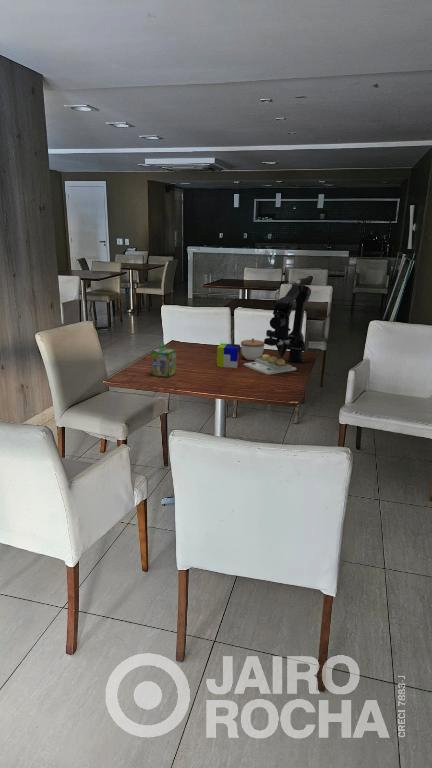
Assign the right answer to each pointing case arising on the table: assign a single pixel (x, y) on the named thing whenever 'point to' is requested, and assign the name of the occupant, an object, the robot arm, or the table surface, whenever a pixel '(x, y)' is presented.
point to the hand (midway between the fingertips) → (281, 357)
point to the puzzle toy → (228, 355)
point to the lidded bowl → (252, 349)
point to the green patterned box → (163, 361)
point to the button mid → (273, 360)
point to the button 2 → (280, 362)
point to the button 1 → (265, 357)
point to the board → (268, 367)
